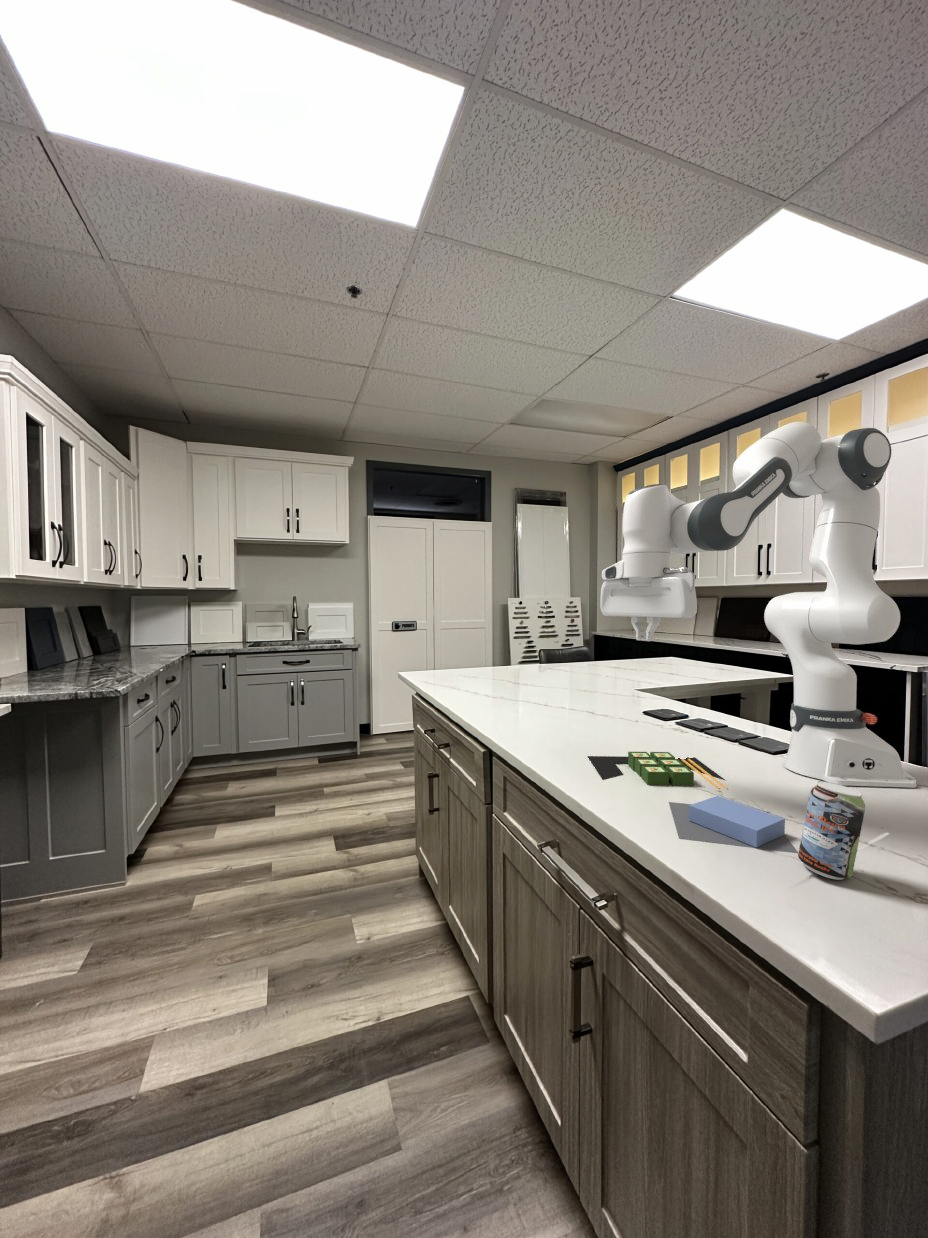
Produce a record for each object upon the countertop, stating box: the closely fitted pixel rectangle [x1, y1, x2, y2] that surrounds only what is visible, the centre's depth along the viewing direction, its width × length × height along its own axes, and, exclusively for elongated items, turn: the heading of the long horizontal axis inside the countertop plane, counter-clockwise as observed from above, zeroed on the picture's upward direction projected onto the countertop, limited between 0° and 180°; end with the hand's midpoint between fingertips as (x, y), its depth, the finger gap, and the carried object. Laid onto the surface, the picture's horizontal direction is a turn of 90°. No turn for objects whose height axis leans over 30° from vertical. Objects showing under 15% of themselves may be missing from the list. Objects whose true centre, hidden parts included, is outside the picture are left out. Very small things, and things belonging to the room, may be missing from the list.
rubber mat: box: [668, 801, 799, 854], centre depth 83 cm, size 16×15×1 cm
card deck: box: [689, 795, 786, 847], centre depth 81 cm, size 3×8×11 cm
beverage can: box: [797, 780, 866, 881], centre depth 68 cm, size 6×7×12 cm
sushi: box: [587, 751, 729, 790], centre depth 108 cm, size 25×25×4 cm
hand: (645, 640), depth 99 cm, fingers closed
